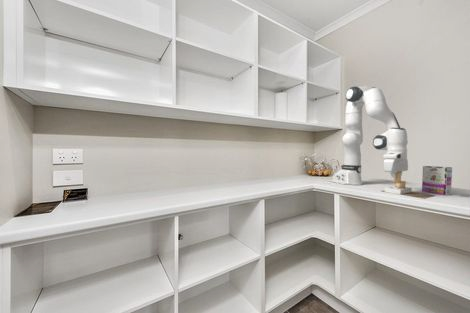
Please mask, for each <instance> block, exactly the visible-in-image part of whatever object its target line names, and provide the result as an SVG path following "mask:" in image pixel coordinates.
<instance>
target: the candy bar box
mask: <svg viewBox="0 0 470 313" xmlns="http://www.w3.org/2000/svg"><path fill="white" fill-rule="evenodd" d="M452 173H453V167H450V166H437V165H436V166H435V165H433V166H432V165H423V166H422V182H421V184H422V185H421V192H425V193H431V194H435V195H436V194H438V195H442V196H451V195H452V178H453V177H452V176H453V174H452Z"/></svg>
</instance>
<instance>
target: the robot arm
mask: <svg viewBox="0 0 470 313" xmlns="http://www.w3.org/2000/svg"><path fill="white" fill-rule="evenodd" d="M345 99H346V101H347V103H346V106H345V111H344V127H345V134H344V135H343V136H342V138H341V139H342V141H341V142H342V148H343V164H342V165H340V168H341V169H340V170H338V171H336V172H334V174H333V176H332V179H330V180H329V182H332V183H337V184H340V185H341V184H342V185H350V186H351V185H353V186H360V185H364V183H363V180H362V165H361V164H362V163H361V162H362V161H361V160H362V154H361V145H362V144H363V142H364V136H363V135H364V134H363V133H364V132H363V107H365V112H366V113H367V115H368V116H369V117H370V118H372V119H375V120H378V121H380V122H382V123H384V125H385V126H386V128H387V130H386V131H384V132H383V133H381V134H378V135H375V137H373V140H372V145H373V148H375V149H376V150H379V151H386V153H384V154H383V155H382V159H384V160H383V170H384V172H386V173H390V175H391V181H392V180H396V179H397V177H396V172H399V173H401V176H402V175H403V172H407V171H409V162H408V148H407V145H408V142H409V141H408V132H407V129H406V128H404V127H401V125H400V123H399V122H398V121H399V120H397V117H396V115H395V113H394V112H393V111H392V110H391V109H390V108H389V106H388V103H387V99H386V98H385V95H384V92H383V90H382V89H380V88H379V87H376V86H375V87H374V86H352V87H349V88H348V89H347V90H346V93H345Z"/></svg>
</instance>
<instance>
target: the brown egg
mask: <svg viewBox="0 0 470 313" xmlns="http://www.w3.org/2000/svg"><path fill="white" fill-rule="evenodd" d="M396 177H397V179H396V180H392V179H391V184H392V183H393V184H397V183H401V181H402V175H401V173H399V172H396Z"/></svg>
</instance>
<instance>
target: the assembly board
mask: <svg viewBox="0 0 470 313" xmlns="http://www.w3.org/2000/svg"><path fill="white" fill-rule="evenodd" d="M381 192H383V193H388V194H390V193H389V192H385V189H384V190H381ZM392 194H394V195H396V194H395V193H392ZM398 195H400V196H406V197H413V198H418V199H424V200H426V199H429V198H433V197H436V194H435V195H434V194H427V193H420V192H415V191H412V192H409V193H405V194H398Z"/></svg>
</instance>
